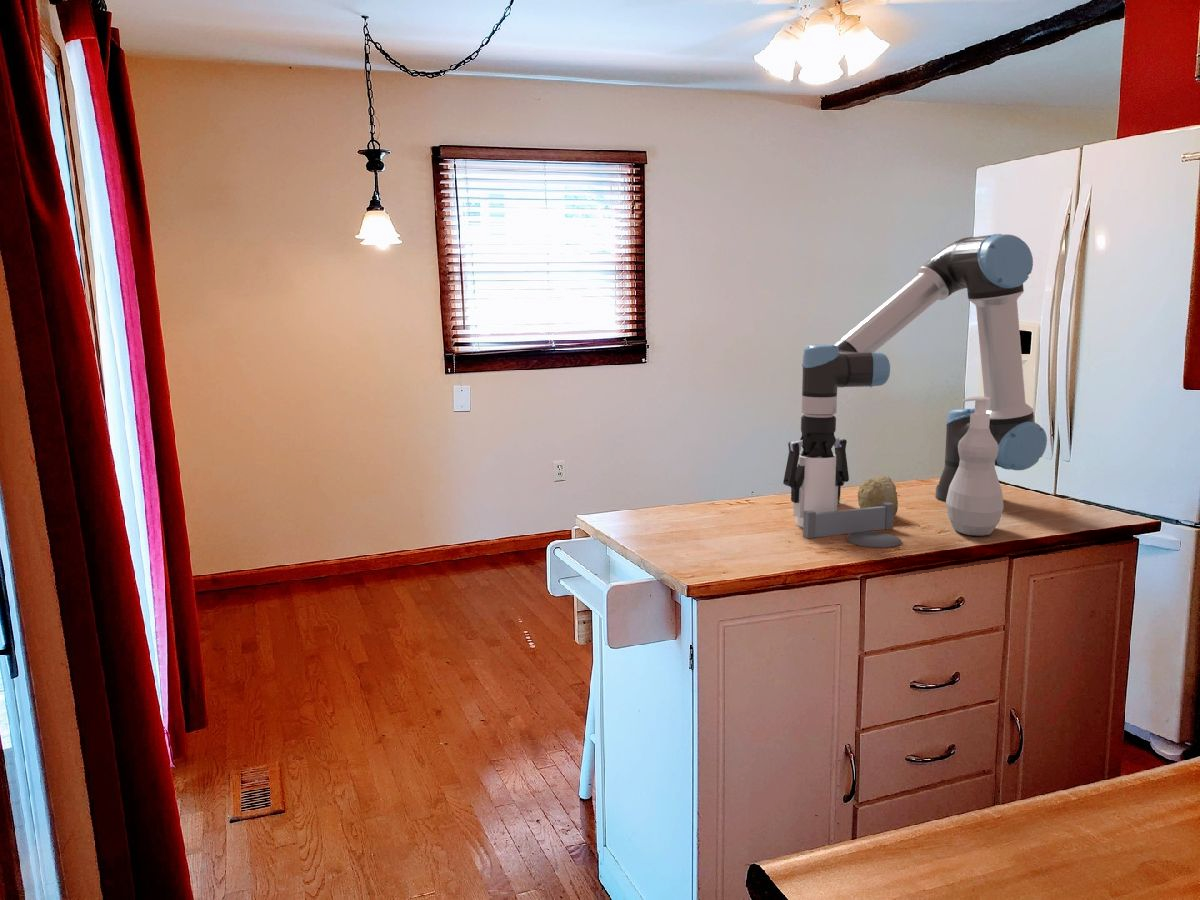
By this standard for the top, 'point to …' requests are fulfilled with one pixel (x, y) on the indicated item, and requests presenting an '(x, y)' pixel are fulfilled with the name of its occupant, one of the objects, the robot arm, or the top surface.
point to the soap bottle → (976, 478)
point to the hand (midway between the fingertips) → (815, 514)
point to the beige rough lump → (877, 493)
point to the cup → (818, 484)
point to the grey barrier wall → (848, 521)
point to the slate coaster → (874, 540)
